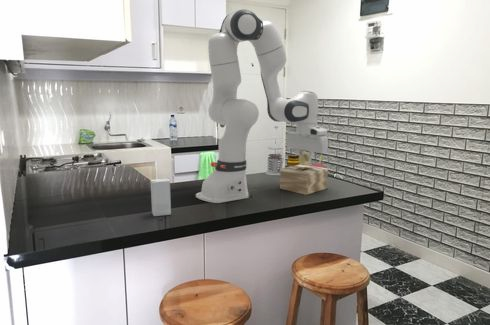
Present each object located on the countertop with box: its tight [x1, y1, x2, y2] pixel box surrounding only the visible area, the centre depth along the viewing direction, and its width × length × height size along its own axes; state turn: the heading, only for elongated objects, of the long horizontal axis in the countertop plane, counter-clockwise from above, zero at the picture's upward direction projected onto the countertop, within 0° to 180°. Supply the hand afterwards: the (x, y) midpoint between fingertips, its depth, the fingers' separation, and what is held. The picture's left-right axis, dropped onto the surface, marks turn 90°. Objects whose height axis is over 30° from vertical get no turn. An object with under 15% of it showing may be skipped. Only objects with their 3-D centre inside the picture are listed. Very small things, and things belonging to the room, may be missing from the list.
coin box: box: [279, 164, 329, 196], centre depth 164 cm, size 16×14×9 cm
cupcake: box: [309, 153, 327, 168], centre depth 187 cm, size 9×8×12 cm
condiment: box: [286, 154, 300, 167], centre depth 182 cm, size 7×8×12 cm
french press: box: [265, 125, 284, 176], centre depth 191 cm, size 10×12×25 cm
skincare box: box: [149, 178, 172, 217], centre depth 125 cm, size 6×4×12 cm
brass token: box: [299, 151, 312, 165], centre depth 162 cm, size 5×2×5 cm, turn 135°
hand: (305, 160), depth 162 cm, fingers closed on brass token, 2 cm apart
